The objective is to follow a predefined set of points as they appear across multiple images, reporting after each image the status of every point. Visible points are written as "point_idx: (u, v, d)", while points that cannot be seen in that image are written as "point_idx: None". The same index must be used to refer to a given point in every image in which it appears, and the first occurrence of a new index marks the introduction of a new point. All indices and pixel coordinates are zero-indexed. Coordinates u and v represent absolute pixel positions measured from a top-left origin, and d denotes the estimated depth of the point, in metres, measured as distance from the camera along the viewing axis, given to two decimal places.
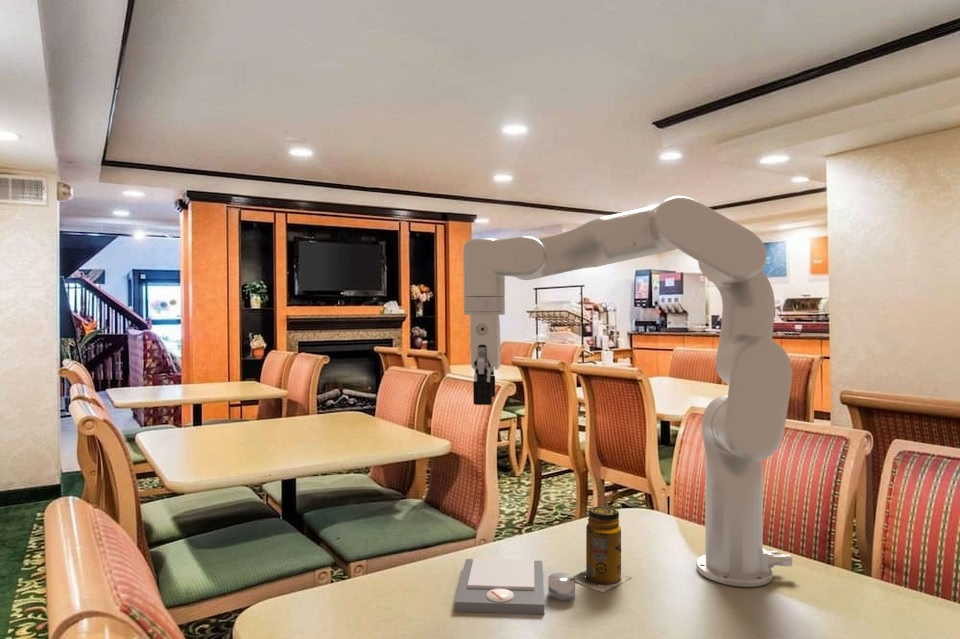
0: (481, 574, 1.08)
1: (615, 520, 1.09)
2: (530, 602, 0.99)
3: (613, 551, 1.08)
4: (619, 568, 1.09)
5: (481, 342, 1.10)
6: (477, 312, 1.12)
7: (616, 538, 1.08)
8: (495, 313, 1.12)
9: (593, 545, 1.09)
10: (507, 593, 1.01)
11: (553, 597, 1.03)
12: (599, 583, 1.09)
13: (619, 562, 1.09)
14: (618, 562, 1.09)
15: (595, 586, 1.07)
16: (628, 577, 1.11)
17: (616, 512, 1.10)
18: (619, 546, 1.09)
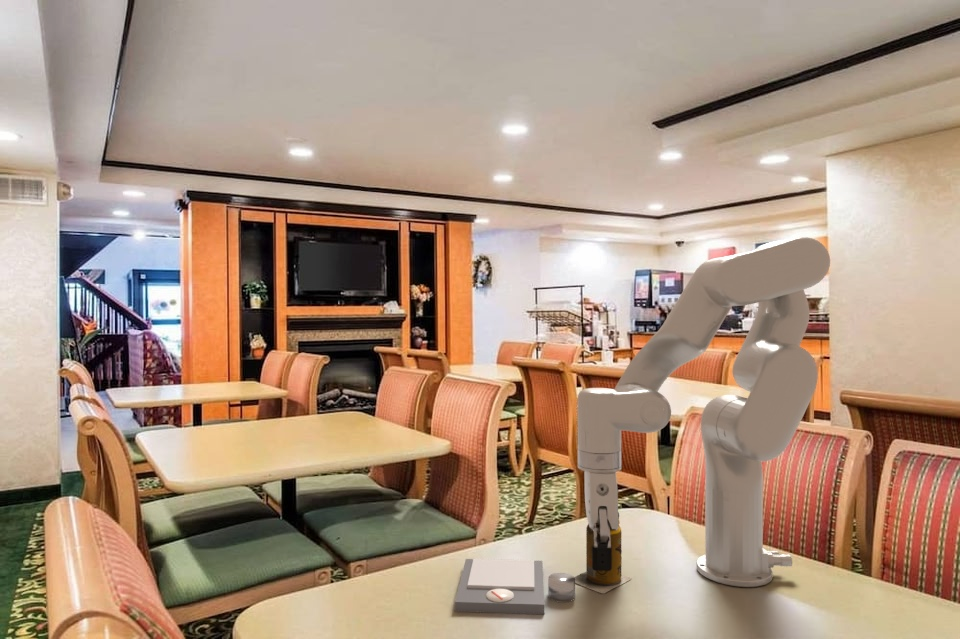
0: (481, 574, 1.08)
1: None
2: (530, 602, 0.99)
3: (613, 552, 1.08)
4: (619, 569, 1.09)
5: (601, 503, 1.05)
6: (596, 470, 1.07)
7: (616, 539, 1.08)
8: (614, 470, 1.07)
9: None
10: (507, 593, 1.01)
11: (553, 597, 1.03)
12: (599, 584, 1.08)
13: (619, 563, 1.09)
14: (618, 563, 1.08)
15: (595, 588, 1.07)
16: (628, 578, 1.10)
17: None
18: (619, 547, 1.09)
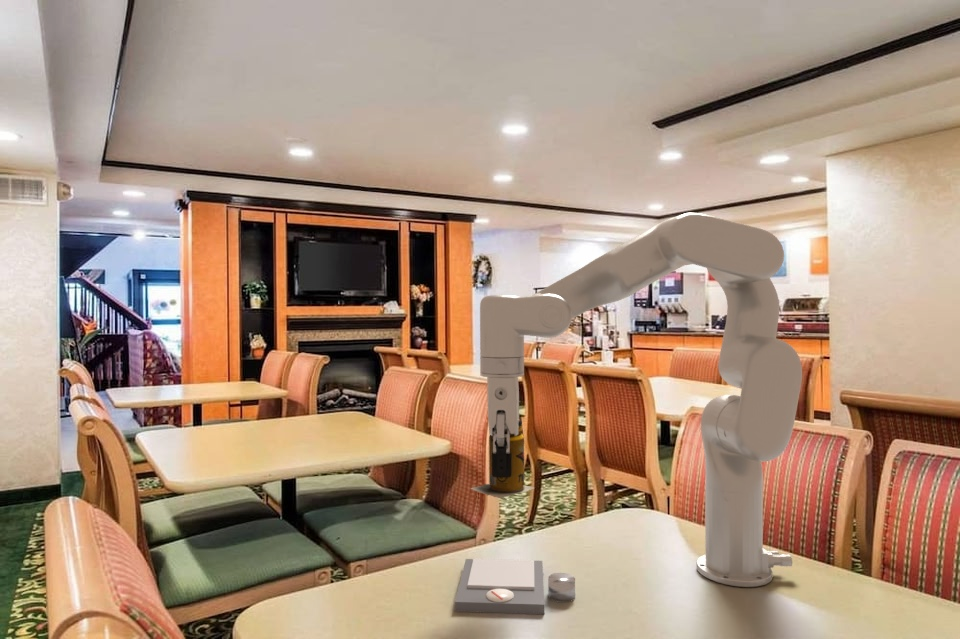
0: (481, 574, 1.08)
1: None
2: (530, 602, 0.99)
3: (514, 459, 1.06)
4: (521, 477, 1.07)
5: (500, 407, 1.04)
6: (495, 374, 1.05)
7: (516, 445, 1.06)
8: (514, 375, 1.05)
9: None
10: (507, 593, 1.01)
11: (553, 597, 1.03)
12: (499, 491, 1.06)
13: (521, 471, 1.07)
14: (519, 470, 1.06)
15: (495, 494, 1.05)
16: (531, 488, 1.08)
17: None
18: (521, 455, 1.07)
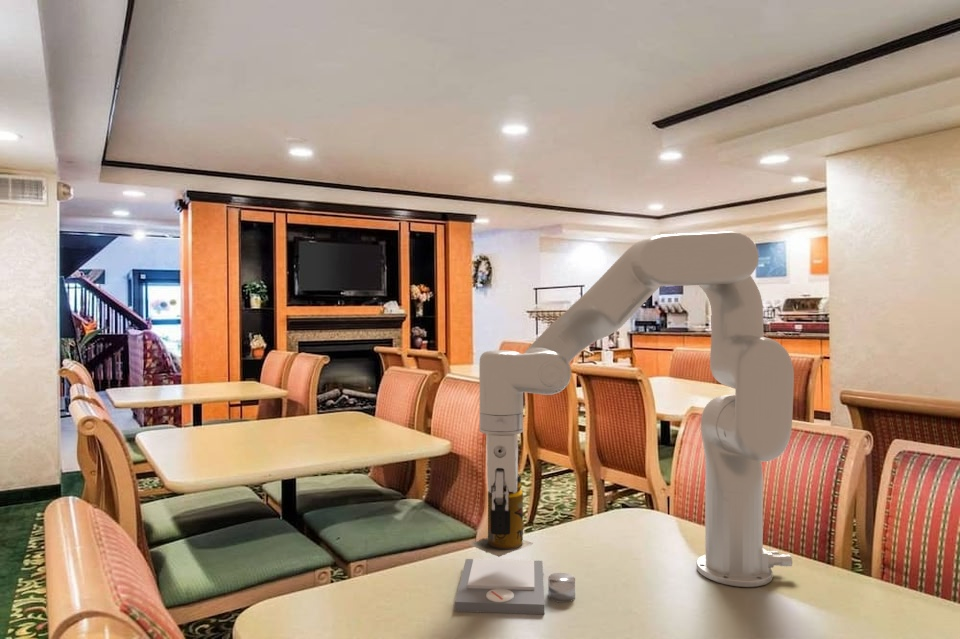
0: (481, 574, 1.08)
1: None
2: (530, 602, 0.99)
3: (513, 516, 1.06)
4: (520, 533, 1.07)
5: (499, 465, 1.04)
6: (494, 432, 1.05)
7: (515, 502, 1.06)
8: (513, 432, 1.05)
9: None
10: (507, 593, 1.01)
11: (553, 597, 1.03)
12: (498, 548, 1.06)
13: (520, 527, 1.07)
14: (518, 527, 1.07)
15: (493, 551, 1.05)
16: (530, 543, 1.09)
17: None
18: (519, 511, 1.07)
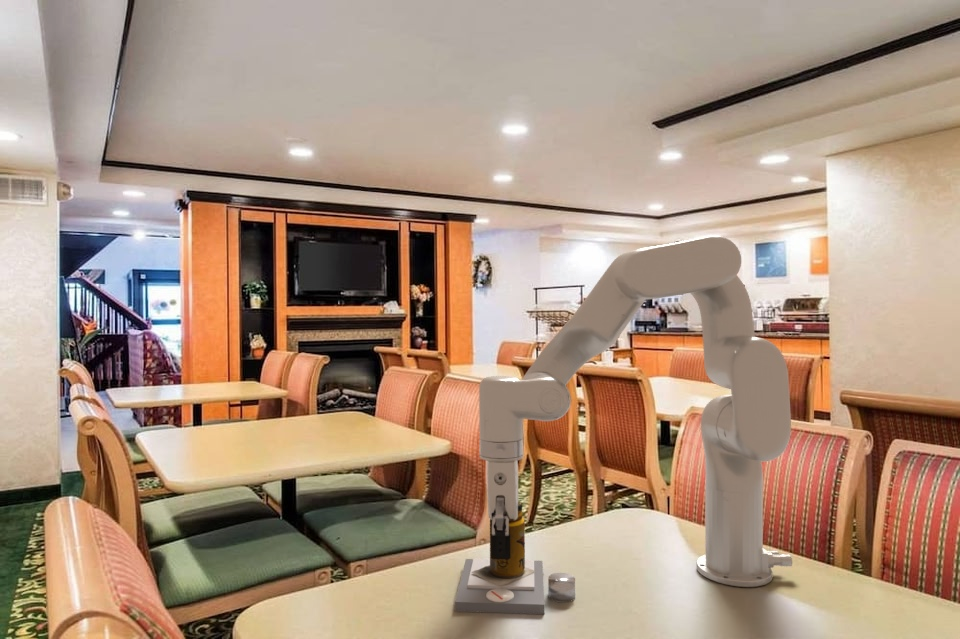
0: None
1: None
2: (530, 602, 0.99)
3: (514, 544, 1.06)
4: (522, 562, 1.07)
5: (499, 492, 1.04)
6: (494, 459, 1.05)
7: (517, 531, 1.06)
8: (513, 459, 1.05)
9: None
10: (507, 593, 1.01)
11: (553, 597, 1.03)
12: (500, 577, 1.06)
13: (521, 556, 1.07)
14: (520, 555, 1.07)
15: (495, 580, 1.05)
16: (532, 571, 1.09)
17: (519, 505, 1.08)
18: (521, 539, 1.07)
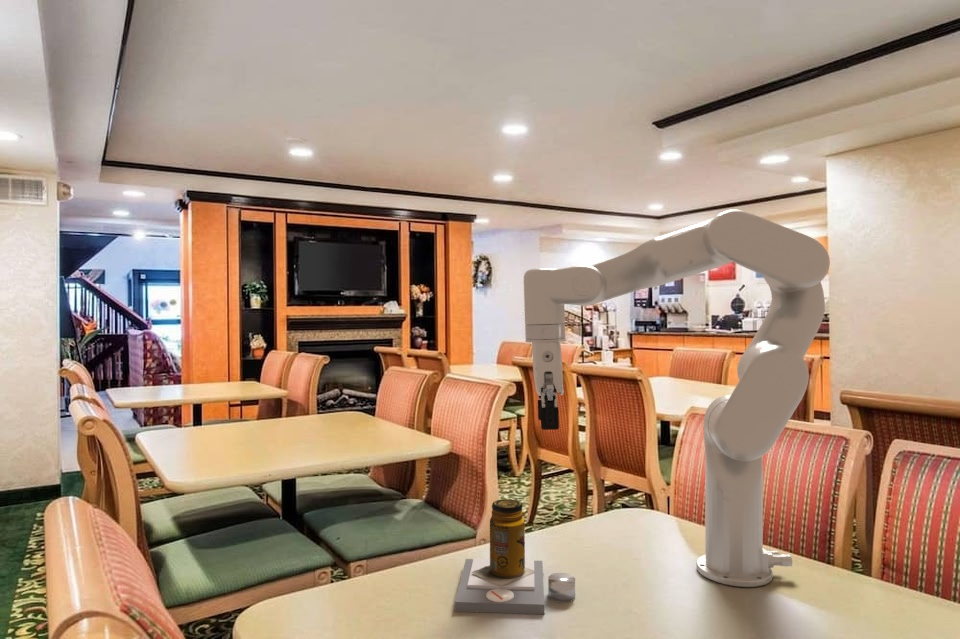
0: None
1: (516, 513, 1.07)
2: (530, 602, 0.99)
3: (514, 544, 1.06)
4: (522, 562, 1.07)
5: (547, 369, 1.14)
6: (541, 340, 1.16)
7: (517, 531, 1.06)
8: (558, 340, 1.16)
9: (495, 538, 1.07)
10: (507, 593, 1.01)
11: (553, 597, 1.03)
12: (500, 577, 1.06)
13: (521, 556, 1.07)
14: (520, 555, 1.07)
15: (495, 580, 1.05)
16: (532, 571, 1.09)
17: (519, 505, 1.08)
18: (521, 539, 1.07)
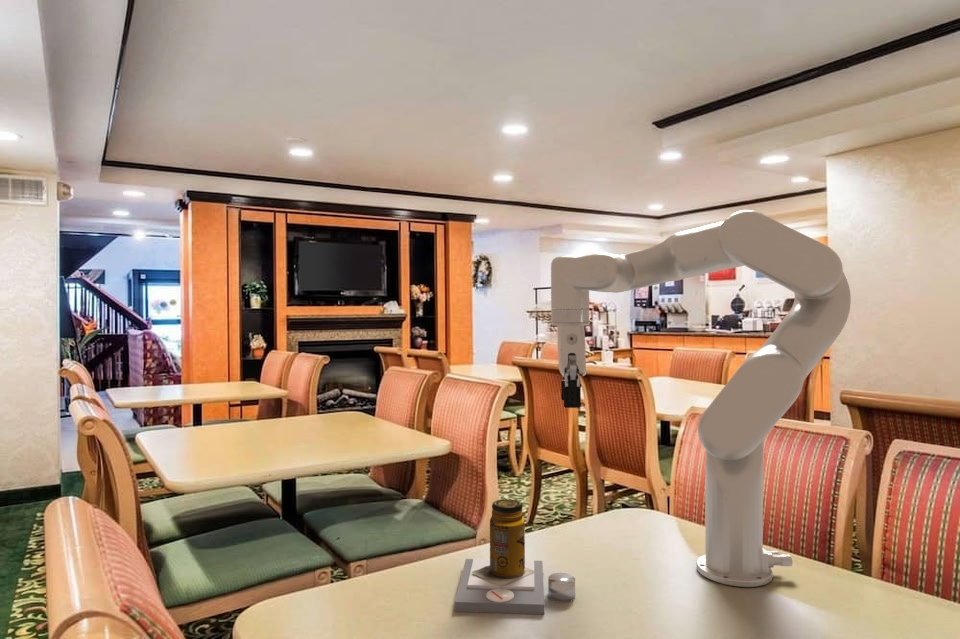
0: None
1: (517, 513, 1.07)
2: (530, 602, 0.99)
3: (515, 544, 1.06)
4: (522, 562, 1.07)
5: (571, 350, 1.21)
6: (566, 323, 1.23)
7: (517, 531, 1.06)
8: (582, 324, 1.23)
9: (495, 538, 1.07)
10: (507, 593, 1.01)
11: (553, 597, 1.03)
12: (500, 577, 1.06)
13: (521, 556, 1.07)
14: (520, 555, 1.07)
15: (495, 580, 1.05)
16: (532, 571, 1.09)
17: (519, 505, 1.08)
18: (521, 539, 1.07)
